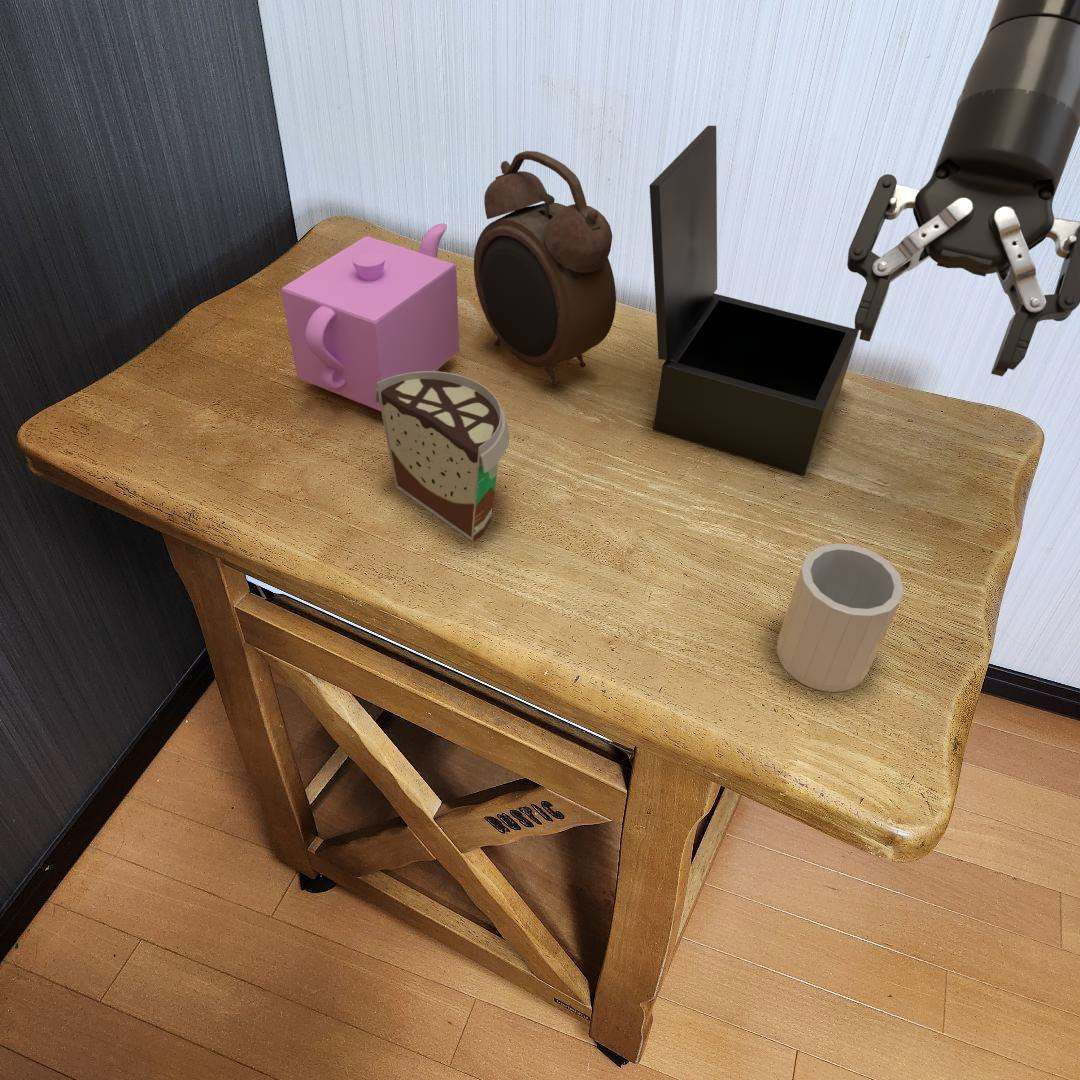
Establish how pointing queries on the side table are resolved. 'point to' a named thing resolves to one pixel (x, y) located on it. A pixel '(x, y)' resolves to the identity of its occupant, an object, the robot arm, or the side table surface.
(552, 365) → the alarm clock
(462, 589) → the side table surface
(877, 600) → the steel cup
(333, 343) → the teapot
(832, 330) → the black square box
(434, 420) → the food container
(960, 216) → the robot arm
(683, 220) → the black box lid
